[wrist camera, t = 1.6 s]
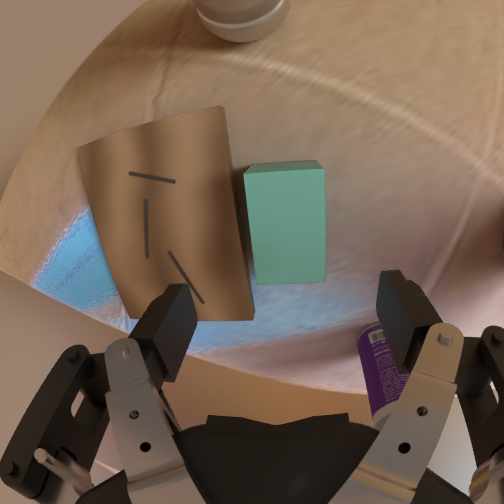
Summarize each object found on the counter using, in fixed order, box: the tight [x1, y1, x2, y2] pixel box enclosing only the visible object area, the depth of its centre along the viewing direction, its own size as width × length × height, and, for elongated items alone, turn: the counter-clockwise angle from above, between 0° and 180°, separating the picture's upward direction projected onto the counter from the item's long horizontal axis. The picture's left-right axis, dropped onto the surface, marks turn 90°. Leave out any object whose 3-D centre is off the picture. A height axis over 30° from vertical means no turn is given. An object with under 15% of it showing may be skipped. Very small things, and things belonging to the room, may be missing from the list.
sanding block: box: [243, 160, 326, 285], centre depth 20 cm, size 5×8×5 cm, turn 7°
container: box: [357, 322, 410, 432], centre depth 20 cm, size 5×5×15 cm
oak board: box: [77, 106, 255, 321], centre depth 23 cm, size 14×19×2 cm
